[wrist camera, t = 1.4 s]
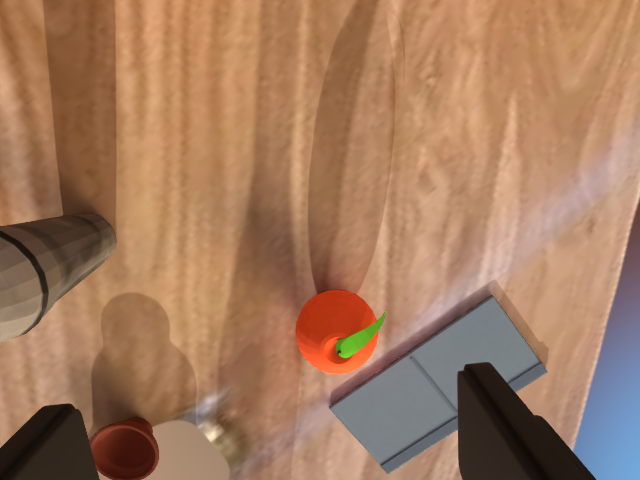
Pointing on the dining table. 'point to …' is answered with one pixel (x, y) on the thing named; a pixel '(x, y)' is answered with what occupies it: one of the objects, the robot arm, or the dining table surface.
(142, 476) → the pottery
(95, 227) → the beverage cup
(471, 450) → the robot arm
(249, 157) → the dining table surface
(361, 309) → the clementine
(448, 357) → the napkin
